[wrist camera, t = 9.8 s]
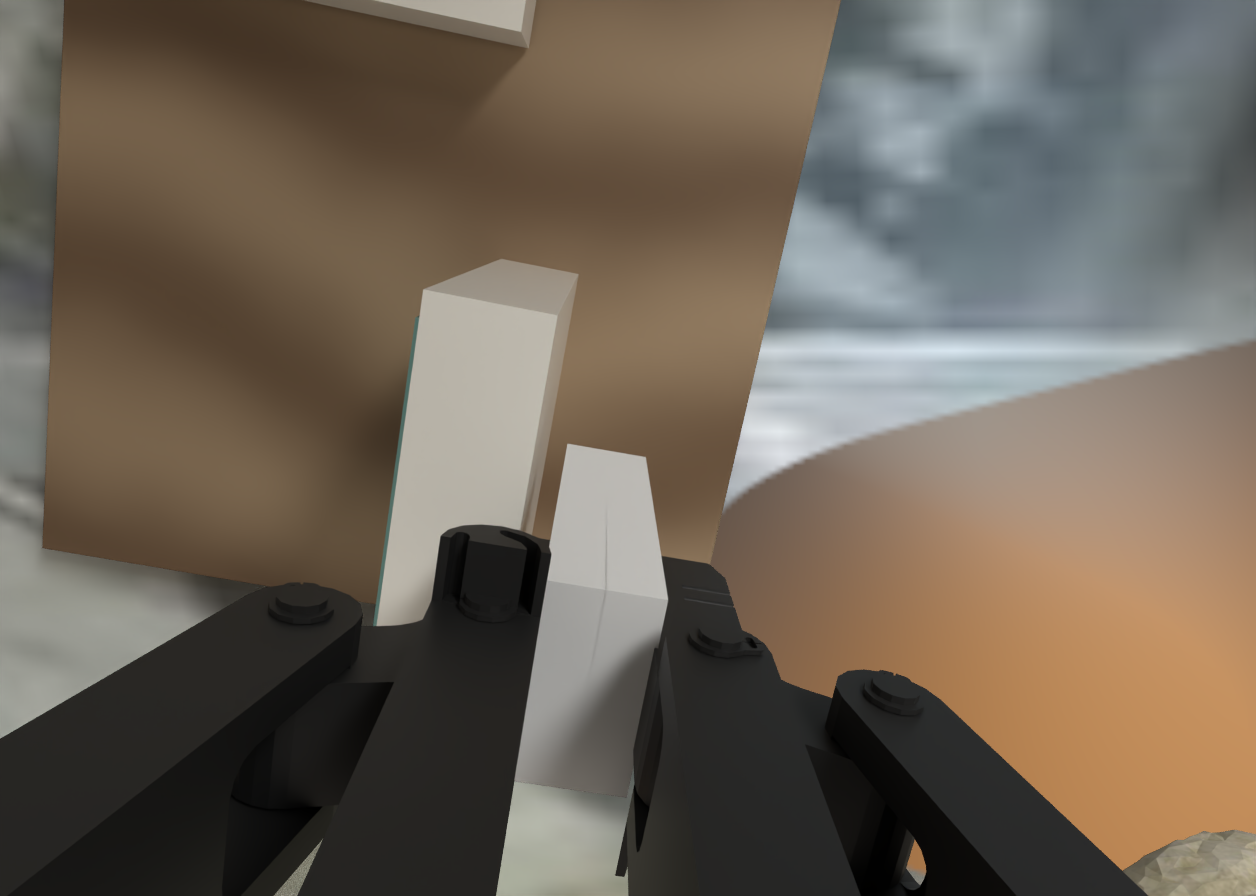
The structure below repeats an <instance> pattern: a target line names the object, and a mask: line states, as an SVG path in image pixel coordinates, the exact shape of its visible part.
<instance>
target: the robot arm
mask: <svg viewBox="0 0 1256 896" xmlns="http://www.w3.org/2000/svg"><path fill="white" fill-rule="evenodd" d="M733 606H734V604H733V601H732V598H731V596H730V592H729V589H728V586H727V582H726V579H725V578H724V577H723V576H722V575H721V574H720V573H718V572H717V571H716V570H715V569H714V568H713V567H712V566H711V565H709V564H708V563H702V562H696V561H690V560H684V559H678V558H672V557H666V556H661V551H660V545H659V538H658V532H657V526H656V519H655V513H654V506H653V500H652V494H651V487H650V481H649V475H648V468H647V462H646V457H642V456H636V455H631V454H625V453H619V452H613V451H607V450H602V449H596V448H590V447H584V446H578V445H573V444H567V449H566V455H565V461H564V466H563V472H562V478H561V483H560V489H559V494H558V500H557V506H556V511H555V517H554V523H553V528H552V534H551V539H550V540H547V539H541V538H538V537H535V536H533V535H531V534H528V533H526V532H523V531H520V530H516V529H512V528H507V527H503V526H494V525H483V524H479V525H462V526H459V527H455V528H451V529H448V530H447V531H446V532H445V533H443V534H442V535H441V536H440V543H439V550H438V557H437V564H436V571H435V578H434V585H433V592H432V600H431V602H430V604H429V607H428V609H427V611H426V613H425V615H424V618H423V620H420V621H417V622H413V623H408V624H403V625H392V626H361V625H362V616H363V613H362V609H361V604H360V603H358V602H357V601H356V600H355V599H354V598H353V597H351V596H350V595H348V594H346V593H343V592H341V591H338V590H335V589H333V588H328V587H322V586H319V585H318V584H315V583H306V582H303V584H300V582H290V583H286V584H285V585H279V586H272V587H266V588H263V589H261V590H258V591H256V592H253V593H250V594H248V595H246V596H245V597H243V598H241V599H239V600H238V601H236V602H234V603H233V604H231V605H229V606H227V607H226V608H224V609H222V610H221V611H219V612H217V613H215V614H214V615H212V616H210V617H209V618H207V619H205V620H203V621H202V622H200V623H198V624H196V625H195V626H193V627H191V628H190V629H188V630H186V631H184V632H183V633H181V634H179V635H178V636H176V637H174V638H172V639H171V640H169V641H167V642H166V643H164V644H162V645H160V646H159V647H157V648H155V649H154V650H152V651H150V652H148V653H147V654H145V655H143V656H142V657H140V658H138V659H136V660H135V661H133V662H131V663H130V664H128V665H126V666H124V667H123V668H121V669H119V670H117V671H116V672H114V673H112V674H111V675H109V676H107V677H105V678H104V679H102V680H100V681H99V682H97V683H95V684H93V685H92V686H90V687H88V688H87V689H85V690H83V691H81V692H80V693H78V694H76V695H75V696H73V697H71V698H69V699H68V700H66V701H64V702H63V703H61V704H59V705H57V706H56V707H54V708H52V709H51V710H49V711H47V712H45V713H44V714H42V715H40V716H39V717H37V718H35V719H33V720H32V721H30V722H28V723H26V724H25V725H23V726H21V727H20V728H18V729H16V730H14V731H13V732H11V733H9V734H8V735H6V736H4V737H2V738H1V739H0V896H274V895H275V893H276V892H277V891H278V890H279V889H280V888H281V886H282V885H283V884H284V883H285V882H286V881H287V880H288V878H289V877H290V876H291V875H292V874H293V873H294V871H295V870H296V869H297V868H298V867H299V866H300V865H301V863H302V862H303V861H304V860H305V859H306V858H307V856H308V855H309V854H310V853H311V852H312V851H313V850H314V848H315V847H316V846H317V845H318V844H319V843H320V841H321V840H322V839H323V841H322V843H321V845H320V847H319V849H318V852H317V854H316V856H315V858H314V860H313V863H312V865H311V867H310V869H309V872H308V874H307V876H306V878H305V880H304V883H303V885H302V887H301V889H300V891H299V894H298V896H496V892H497V885H498V879H499V873H500V867H501V861H502V854H503V848H504V842H505V836H506V829H507V823H508V817H509V811H510V805H511V798H512V792H513V786H514V781H516V782H523V783H529V784H536V785H543V786H550V787H557V788H563V789H570V790H577V791H584V792H591V793H597V794H604V795H611V796H618V797H625V798H627V794H628V789H629V784H630V780H631V775H632V770H633V765H634V781H635V784H634V789H633V794H632V799H631V803H630V808H629V813H628V817H627V822H626V827H625V832H624V836H623V841H622V846H621V851H620V855H619V860H618V865H617V870H616V874H615V876H622V877H624V876H625V873H626V870H627V867H628V893H629V896H1148V895H1147V894H1146V893H1145V892H1144V891H1143V890H1142V889H1141V888H1140V887H1139V886H1138V885H1137V884H1136V883H1134V882H1133V881H1132V880H1131V879H1130V878H1129V877H1128V876H1127V875H1126V874H1125V873H1124V872H1123V871H1122V870H1121V869H1120V868H1119V867H1117V866H1116V865H1115V864H1114V863H1113V862H1112V861H1111V860H1110V859H1109V858H1108V857H1107V856H1106V855H1105V854H1104V853H1103V852H1102V851H1101V850H1099V849H1098V848H1097V847H1096V846H1095V845H1094V844H1093V843H1092V842H1091V841H1090V840H1089V839H1088V838H1087V837H1085V835H1084V834H1082V833H1081V832H1080V831H1079V830H1078V829H1077V828H1076V827H1075V826H1074V825H1073V824H1072V823H1071V822H1070V821H1069V820H1067V818H1066V817H1064V816H1063V815H1062V814H1061V813H1060V812H1059V811H1058V810H1057V809H1056V808H1055V807H1054V806H1053V805H1052V804H1051V803H1050V802H1049V801H1047V800H1046V799H1045V798H1044V797H1043V796H1042V795H1041V794H1040V793H1039V792H1038V791H1037V790H1036V789H1035V788H1034V787H1033V786H1031V784H1029V783H1028V782H1027V781H1026V780H1025V779H1024V778H1023V777H1022V776H1021V775H1020V774H1019V773H1018V772H1017V771H1016V770H1015V769H1013V768H1012V767H1011V766H1010V765H1009V764H1008V763H1007V762H1006V761H1005V760H1004V759H1003V758H1002V757H1001V756H1000V755H999V754H998V753H996V751H994V750H993V749H992V748H991V747H990V746H989V745H988V744H987V743H986V742H985V741H984V740H983V739H982V738H981V737H980V736H979V735H977V734H976V733H975V732H974V731H973V730H972V729H971V728H970V727H969V726H968V725H967V724H966V723H965V722H964V721H963V720H962V719H961V718H959V717H958V716H957V715H956V714H955V713H954V712H953V711H952V710H951V709H950V708H949V707H948V706H947V705H946V704H945V703H944V702H942V701H941V700H940V699H939V698H937V697H936V696H935V695H933V694H932V693H931V692H929V691H928V690H927V689H925V688H923V687H921V686H919V685H917V684H915V683H912V682H911V681H910V679H908V678H906V677H904V676H901V675H898V674H896V676H894V675H893V673H892V672H888V671H883V670H880V671H871V670H854V671H847V672H845V673H843V674H842V675H840V676H838V679H837V683H836V686H835V690H834V694H833V698H830V697H827V696H824V695H821V694H818V693H814V692H811V691H808V690H805V689H802V688H800V687H797V686H794V685H792V684H789V683H787V682H785V681H783V680H781V678H780V675H779V673H778V670H777V667H776V665H775V662H774V659H773V656H772V654H771V652H770V651H769V650H768V648H767V647H766V645H765V644H764V643H763V642H761V641H760V640H758V638H756V637H754V636H753V635H751V634H749V633H747V632H745V631H742V629H741V626H740V623H739V620H738V617H737V613H736V610H735V608H733ZM914 840H916V842H917V843H918V845H919V847H920V849H921V850H922V854H923V857H924V861H925V864H926V875H925V878H924V880H923V882H922V884H921V886H920V885H919V884H918V883H917V882H916V881H915V880H914V878H913V877H912V876H911V874H910V873H909V872H908V870H907V869H906V866H907V862H908V860H909V856H910V853H911V850H912V846H913V843H914Z"/></svg>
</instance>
